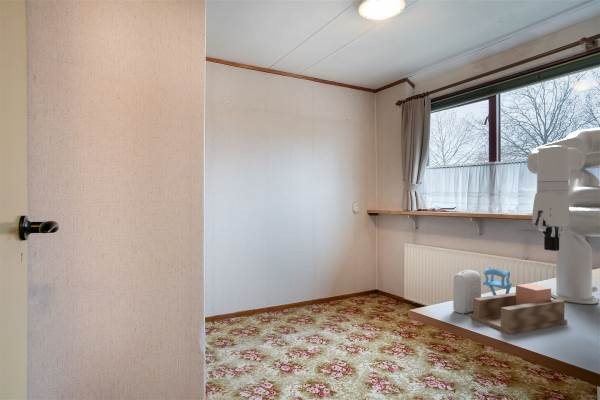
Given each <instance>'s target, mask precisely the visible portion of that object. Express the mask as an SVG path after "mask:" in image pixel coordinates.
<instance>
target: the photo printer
mask: <svg viewBox="0 0 600 400" xmlns="http://www.w3.org/2000/svg"><path fill="white" fill-rule="evenodd" d="M452 290H453V291H452V292H453V299H452V300H453V301H452V302H453V306H452V307H453V311H454V312H456V313H459V314H468V313H471V312H473V298H480V297H482V276H481V275H480V272H478V271H476V270H475V269H474V270H473V269H472V270H471V269H464V270H462V271H459V272H457V273H456V275H454V276H453V289H452Z"/></svg>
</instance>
